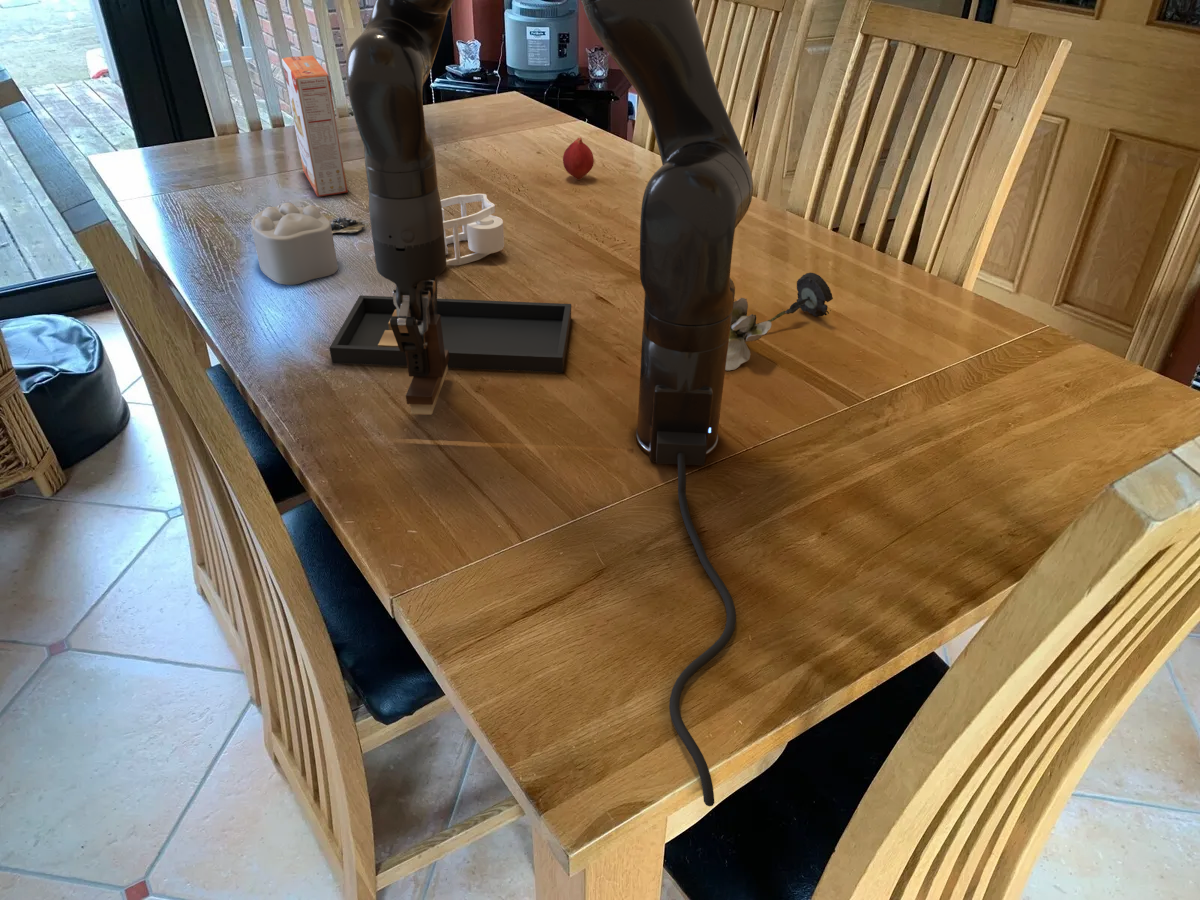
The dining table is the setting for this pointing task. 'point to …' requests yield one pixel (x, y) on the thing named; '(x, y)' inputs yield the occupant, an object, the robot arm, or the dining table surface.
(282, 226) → the lumpy-topped squat cylinder
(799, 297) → the artificial flower
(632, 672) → the dining table surface
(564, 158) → the onion
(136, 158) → the dining table surface
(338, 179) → the cracker box
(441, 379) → the brush
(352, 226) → the lumpy flat slab
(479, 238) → the wheeled car silhouette
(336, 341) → the tray
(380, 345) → the offcut
